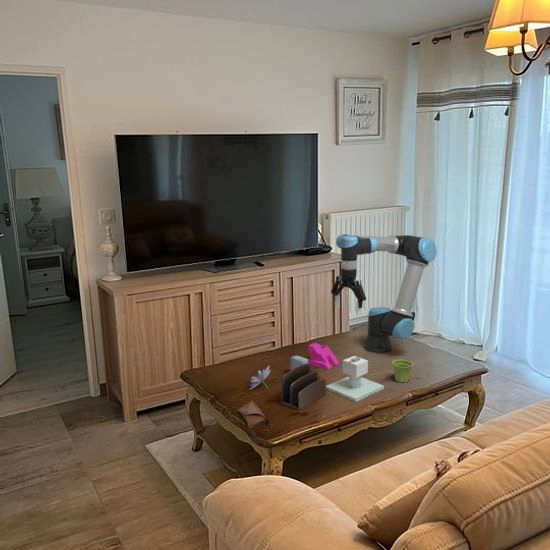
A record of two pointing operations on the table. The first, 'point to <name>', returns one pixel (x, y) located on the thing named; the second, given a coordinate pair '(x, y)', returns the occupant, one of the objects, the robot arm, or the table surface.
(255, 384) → the water lily
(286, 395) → the letter holder
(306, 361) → the medicine box
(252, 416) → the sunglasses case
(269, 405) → the table surface
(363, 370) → the slotted block
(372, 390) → the shaft stand
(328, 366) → the bracket
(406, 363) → the plant pot
